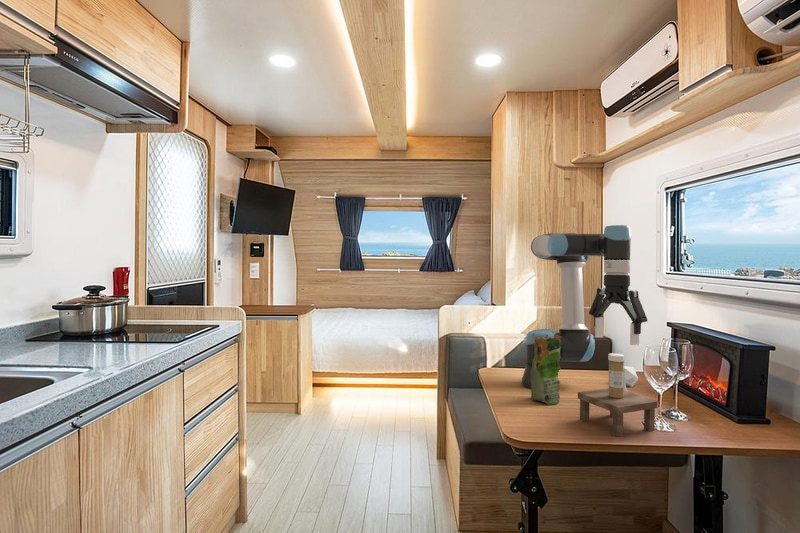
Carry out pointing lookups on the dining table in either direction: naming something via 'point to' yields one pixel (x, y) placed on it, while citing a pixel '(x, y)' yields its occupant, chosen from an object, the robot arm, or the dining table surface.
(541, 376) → the pouch
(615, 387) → the sprinkles bottle
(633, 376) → the die
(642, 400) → the walnut stool
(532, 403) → the dining table surface
